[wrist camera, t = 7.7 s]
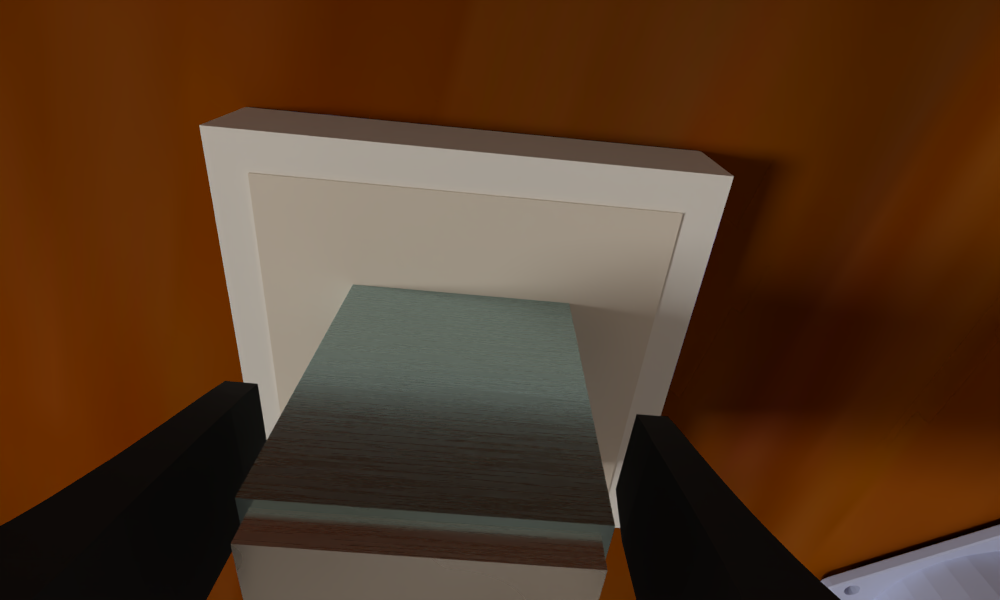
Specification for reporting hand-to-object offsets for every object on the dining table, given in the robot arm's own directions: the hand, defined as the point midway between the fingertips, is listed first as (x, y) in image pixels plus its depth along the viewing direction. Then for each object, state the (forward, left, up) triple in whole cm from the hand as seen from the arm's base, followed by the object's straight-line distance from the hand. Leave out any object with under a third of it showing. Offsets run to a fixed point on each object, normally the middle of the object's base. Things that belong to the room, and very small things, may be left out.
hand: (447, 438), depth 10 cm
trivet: (0, 0, -4) cm, 4 cm away
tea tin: (0, 0, -2) cm, 2 cm away
